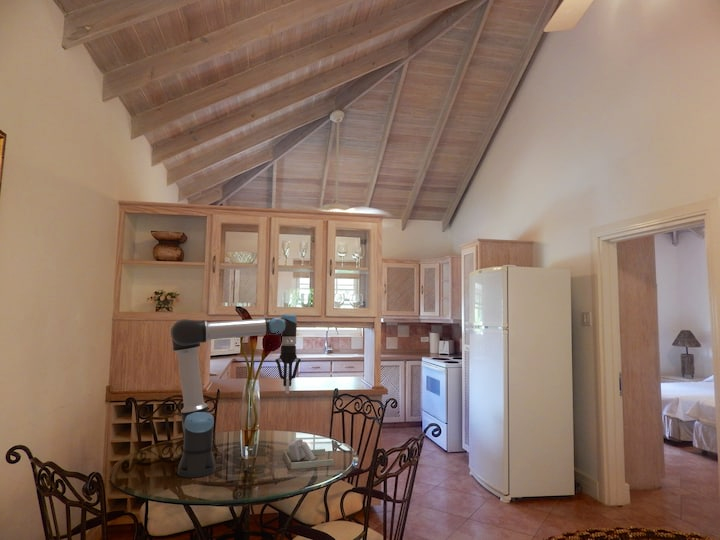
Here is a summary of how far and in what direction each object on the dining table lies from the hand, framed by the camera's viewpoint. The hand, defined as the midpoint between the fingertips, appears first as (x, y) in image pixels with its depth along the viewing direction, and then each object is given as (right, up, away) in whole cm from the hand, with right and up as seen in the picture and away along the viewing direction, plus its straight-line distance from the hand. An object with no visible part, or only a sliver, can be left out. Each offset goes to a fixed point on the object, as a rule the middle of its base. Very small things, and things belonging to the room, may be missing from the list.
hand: (287, 392), depth 218 cm
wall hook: (+10, -27, -16) cm, 33 cm away
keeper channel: (+12, -27, -17) cm, 34 cm away
